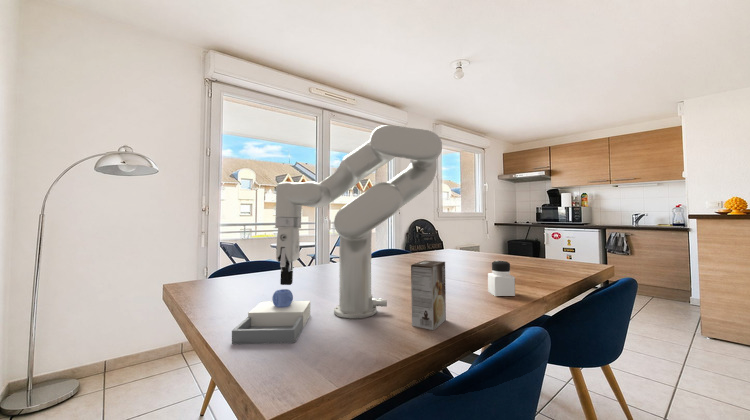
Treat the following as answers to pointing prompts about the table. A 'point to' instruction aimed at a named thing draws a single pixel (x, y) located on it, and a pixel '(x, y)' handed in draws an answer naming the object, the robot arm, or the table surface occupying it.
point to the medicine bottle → (501, 280)
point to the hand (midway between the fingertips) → (286, 284)
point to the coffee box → (428, 294)
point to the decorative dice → (282, 298)
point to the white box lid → (279, 314)
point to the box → (266, 333)
